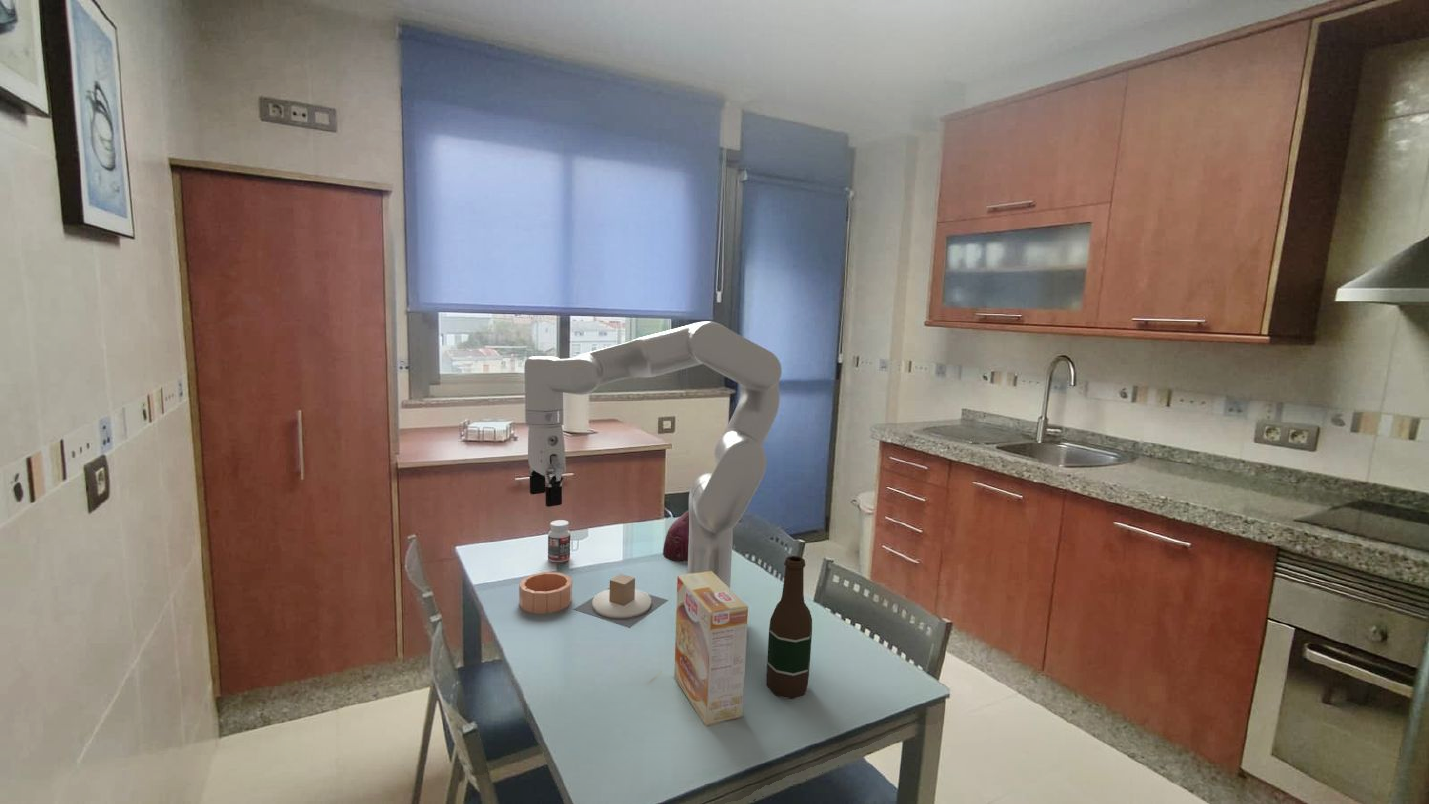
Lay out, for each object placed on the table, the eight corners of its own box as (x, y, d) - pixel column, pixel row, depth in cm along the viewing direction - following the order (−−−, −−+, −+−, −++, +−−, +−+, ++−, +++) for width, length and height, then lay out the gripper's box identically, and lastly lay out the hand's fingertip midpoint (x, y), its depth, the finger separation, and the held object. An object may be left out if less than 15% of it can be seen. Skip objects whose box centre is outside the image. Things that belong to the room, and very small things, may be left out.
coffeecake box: (672, 676, 113) (676, 574, 110) (708, 669, 115) (712, 569, 113) (704, 727, 99) (709, 612, 96) (744, 717, 102) (750, 605, 99)
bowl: (581, 600, 141) (581, 579, 140) (547, 620, 131) (547, 597, 130) (544, 588, 146) (544, 568, 145) (509, 607, 136) (509, 585, 135)
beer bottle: (780, 669, 116) (788, 546, 113) (817, 685, 112) (826, 558, 108) (756, 687, 110) (764, 558, 107) (793, 705, 106) (802, 571, 102)
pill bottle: (564, 564, 160) (564, 527, 159) (543, 561, 162) (544, 525, 160) (573, 556, 166) (574, 520, 165) (553, 553, 167) (554, 518, 166)
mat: (668, 602, 142) (668, 600, 142) (629, 629, 129) (629, 627, 129) (615, 586, 149) (615, 584, 149) (573, 611, 135) (573, 609, 135)
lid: (662, 600, 141) (663, 575, 140) (628, 624, 130) (629, 597, 129) (616, 587, 147) (616, 562, 146) (580, 608, 136) (580, 582, 135)
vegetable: (703, 564, 173) (720, 515, 171) (682, 571, 164) (700, 519, 162) (674, 546, 178) (691, 498, 176) (652, 552, 169) (669, 502, 167)
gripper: (578, 422, 121) (578, 507, 123) (548, 410, 135) (548, 486, 137) (540, 425, 116) (541, 513, 119) (513, 412, 130) (514, 491, 133)
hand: (545, 499), depth 128 cm, fingers open, 9 cm apart
